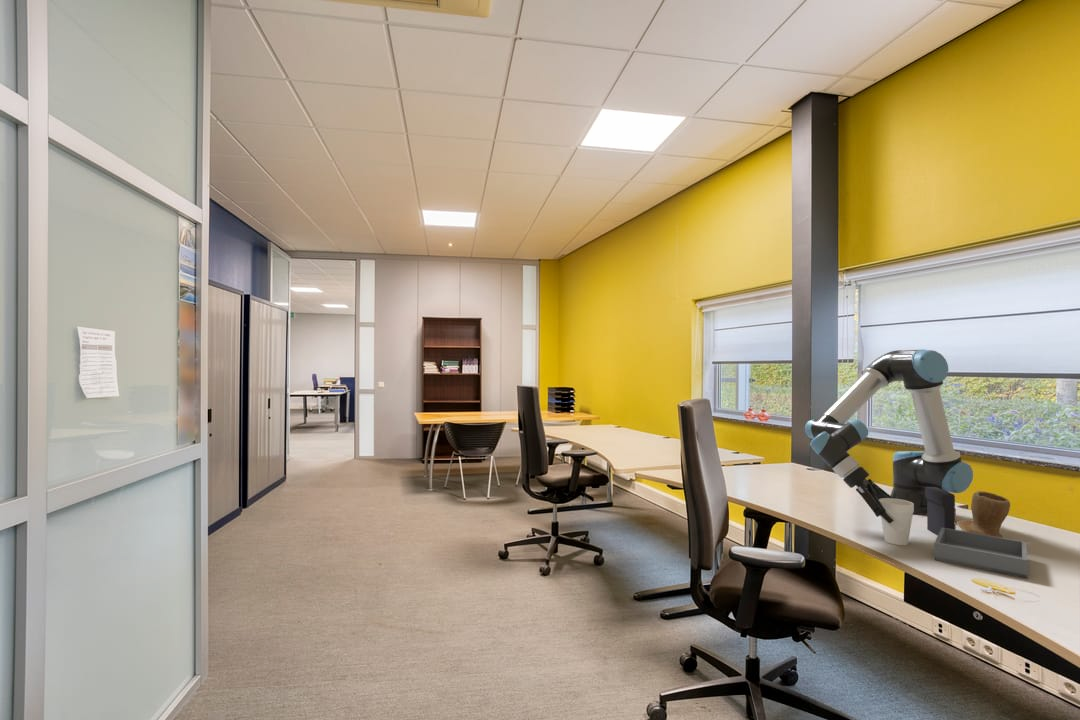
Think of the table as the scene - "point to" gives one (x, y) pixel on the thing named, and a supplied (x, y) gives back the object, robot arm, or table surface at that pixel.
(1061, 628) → the table surface
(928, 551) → the table surface
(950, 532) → the tray
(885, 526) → the foam cup
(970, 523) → the brown flared vessel
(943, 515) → the dark blue upright block
